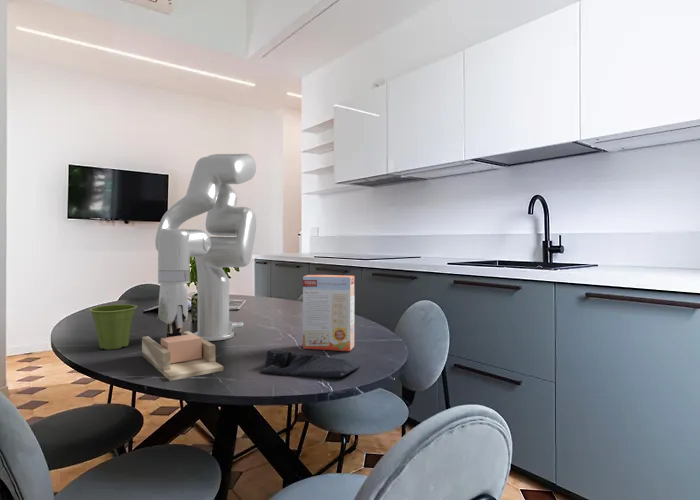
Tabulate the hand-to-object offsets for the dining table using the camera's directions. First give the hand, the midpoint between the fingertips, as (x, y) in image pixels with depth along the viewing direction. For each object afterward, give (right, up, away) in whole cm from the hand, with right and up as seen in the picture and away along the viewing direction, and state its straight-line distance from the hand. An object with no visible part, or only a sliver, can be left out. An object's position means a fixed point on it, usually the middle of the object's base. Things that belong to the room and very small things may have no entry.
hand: (173, 348), depth 109 cm
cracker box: (+39, -3, +12) cm, 41 cm away
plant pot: (-22, -3, +12) cm, 25 cm away
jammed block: (+4, -2, -4) cm, 6 cm away
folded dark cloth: (+36, -4, -7) cm, 37 cm away
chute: (+3, -3, -3) cm, 5 cm away
